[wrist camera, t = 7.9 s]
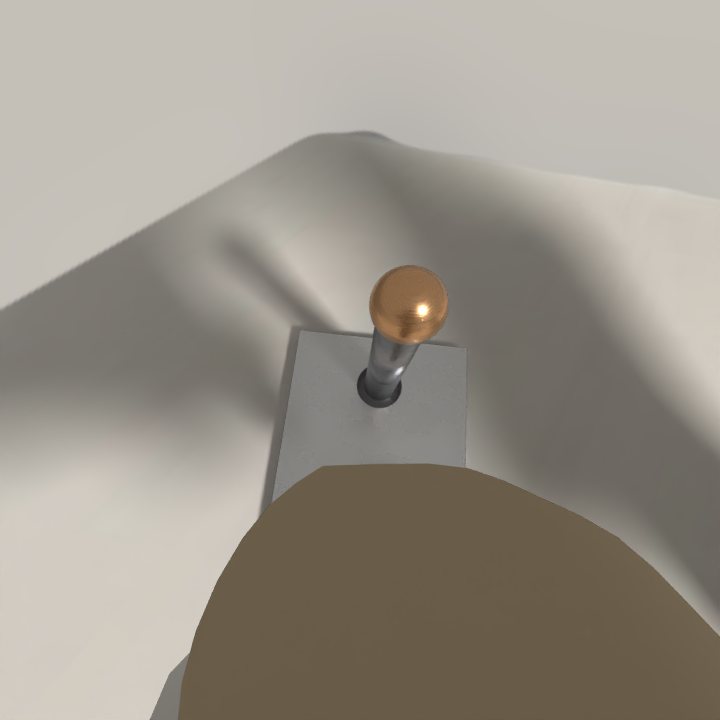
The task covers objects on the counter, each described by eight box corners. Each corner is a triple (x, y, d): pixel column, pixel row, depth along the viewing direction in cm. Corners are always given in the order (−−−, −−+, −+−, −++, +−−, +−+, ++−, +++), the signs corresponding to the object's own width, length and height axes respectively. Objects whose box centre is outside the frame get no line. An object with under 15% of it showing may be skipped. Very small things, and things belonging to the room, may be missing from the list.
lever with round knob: (400, 368, 29) (459, 253, 13) (397, 407, 28) (458, 331, 12) (361, 364, 29) (375, 244, 13) (357, 403, 28) (367, 321, 12)
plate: (462, 352, 31) (467, 347, 29) (458, 559, 26) (464, 563, 25) (301, 335, 31) (299, 329, 29) (268, 538, 26) (264, 541, 25)
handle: (337, 454, 19) (313, 393, 5) (448, 507, 18) (803, 618, 4) (295, 545, 18) (81, 850, 3) (414, 606, 17) (778, 1294, 3)
